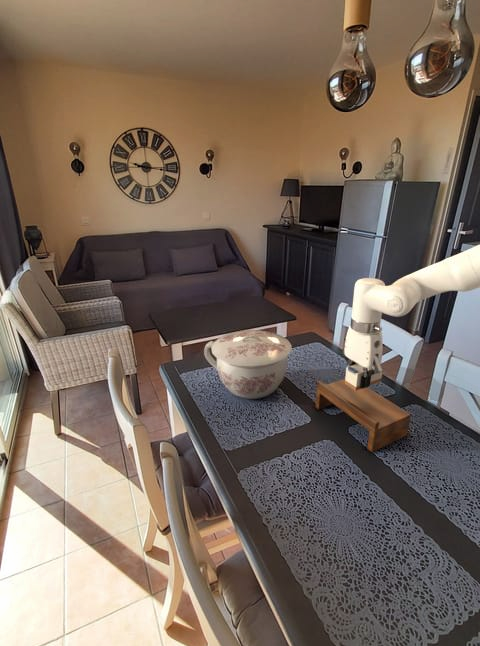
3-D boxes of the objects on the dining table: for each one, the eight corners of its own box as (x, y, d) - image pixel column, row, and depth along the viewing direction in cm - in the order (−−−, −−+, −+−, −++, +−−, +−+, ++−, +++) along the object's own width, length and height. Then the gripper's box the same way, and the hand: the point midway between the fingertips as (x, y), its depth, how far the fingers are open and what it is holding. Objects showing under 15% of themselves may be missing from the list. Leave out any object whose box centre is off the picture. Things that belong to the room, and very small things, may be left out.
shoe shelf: (347, 395, 124) (350, 370, 120) (407, 435, 104) (412, 407, 100) (315, 407, 118) (317, 381, 114) (371, 452, 98) (376, 423, 94)
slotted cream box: (369, 374, 109) (372, 357, 107) (381, 381, 106) (383, 364, 103) (344, 383, 105) (346, 366, 103) (355, 391, 101) (357, 373, 99)
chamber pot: (306, 393, 125) (309, 339, 117) (239, 420, 112) (237, 362, 104) (260, 361, 147) (260, 314, 139) (200, 381, 134) (196, 330, 126)
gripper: (400, 332, 92) (390, 393, 99) (352, 312, 105) (347, 367, 113) (379, 339, 89) (370, 401, 96) (333, 317, 102) (328, 373, 110)
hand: (358, 382), depth 104 cm, fingers closed on slotted cream box, 4 cm apart
